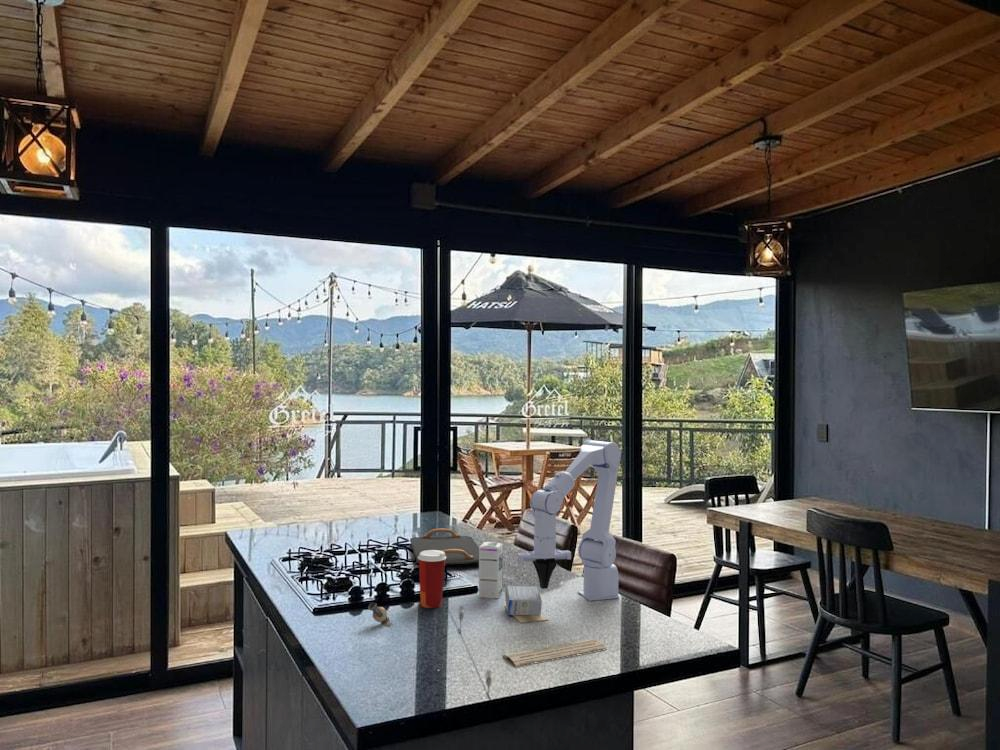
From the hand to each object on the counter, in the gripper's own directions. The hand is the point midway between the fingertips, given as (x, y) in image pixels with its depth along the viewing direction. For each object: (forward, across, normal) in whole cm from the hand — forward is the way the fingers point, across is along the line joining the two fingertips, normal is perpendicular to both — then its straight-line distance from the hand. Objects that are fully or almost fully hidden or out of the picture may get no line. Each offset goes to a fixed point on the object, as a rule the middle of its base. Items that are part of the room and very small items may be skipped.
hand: (543, 587), depth 187 cm
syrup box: (+7, +9, -17) cm, 21 cm away
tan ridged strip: (+7, +8, +26) cm, 28 cm away
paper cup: (+7, +27, -13) cm, 31 cm away
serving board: (+7, +11, -64) cm, 65 cm away
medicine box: (+3, +1, 0) cm, 3 cm away
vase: (+7, +43, -1) cm, 44 cm away
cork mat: (+6, +5, 0) cm, 8 cm away
